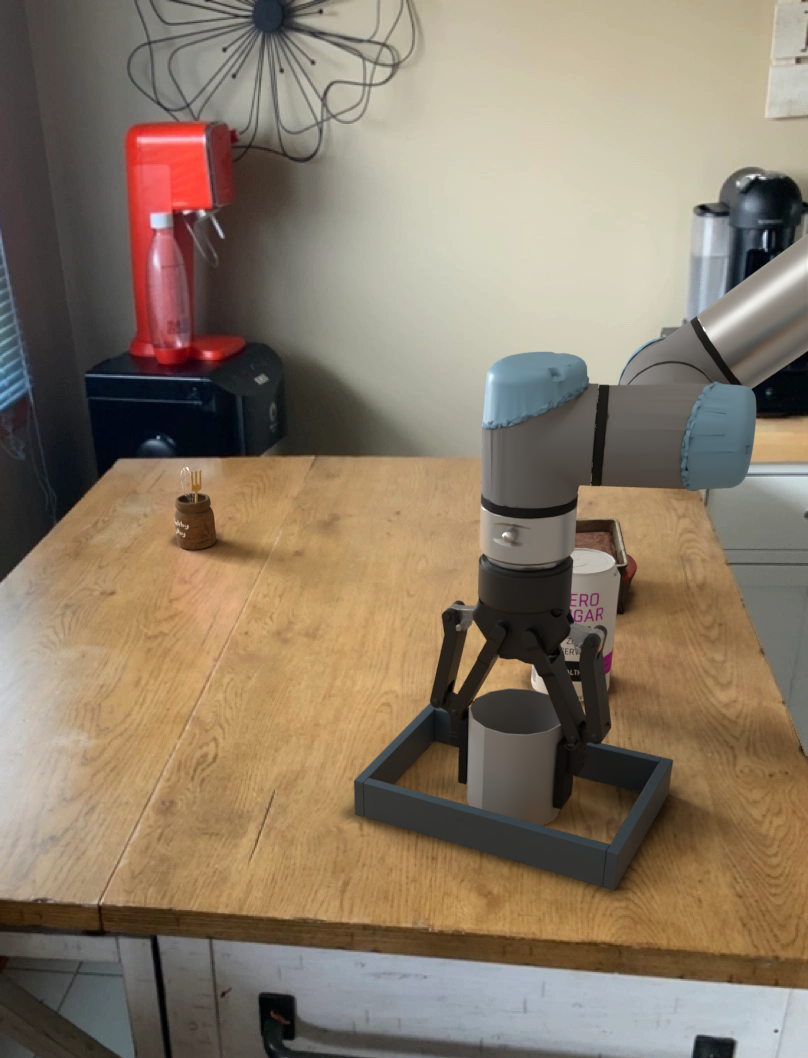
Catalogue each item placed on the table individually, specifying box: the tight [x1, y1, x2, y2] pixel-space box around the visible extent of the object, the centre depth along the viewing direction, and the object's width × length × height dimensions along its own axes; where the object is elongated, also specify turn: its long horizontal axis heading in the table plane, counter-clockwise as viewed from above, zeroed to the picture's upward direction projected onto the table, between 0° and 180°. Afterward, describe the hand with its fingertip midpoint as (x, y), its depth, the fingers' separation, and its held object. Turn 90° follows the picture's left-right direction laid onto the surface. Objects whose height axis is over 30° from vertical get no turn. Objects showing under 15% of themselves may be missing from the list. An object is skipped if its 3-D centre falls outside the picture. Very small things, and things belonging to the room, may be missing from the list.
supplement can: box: [530, 548, 620, 702], centre depth 119 cm, size 8×8×15 cm
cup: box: [466, 687, 565, 826], centre depth 101 cm, size 8×8×10 cm
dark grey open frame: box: [353, 702, 674, 891], centre depth 103 cm, size 24×16×4 cm, turn 58°
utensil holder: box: [173, 467, 217, 551], centre depth 165 cm, size 6×6×12 cm
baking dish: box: [575, 517, 638, 615], centre depth 143 cm, size 14×18×10 cm
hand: (514, 788), depth 102 cm, fingers closed on cup, 8 cm apart
